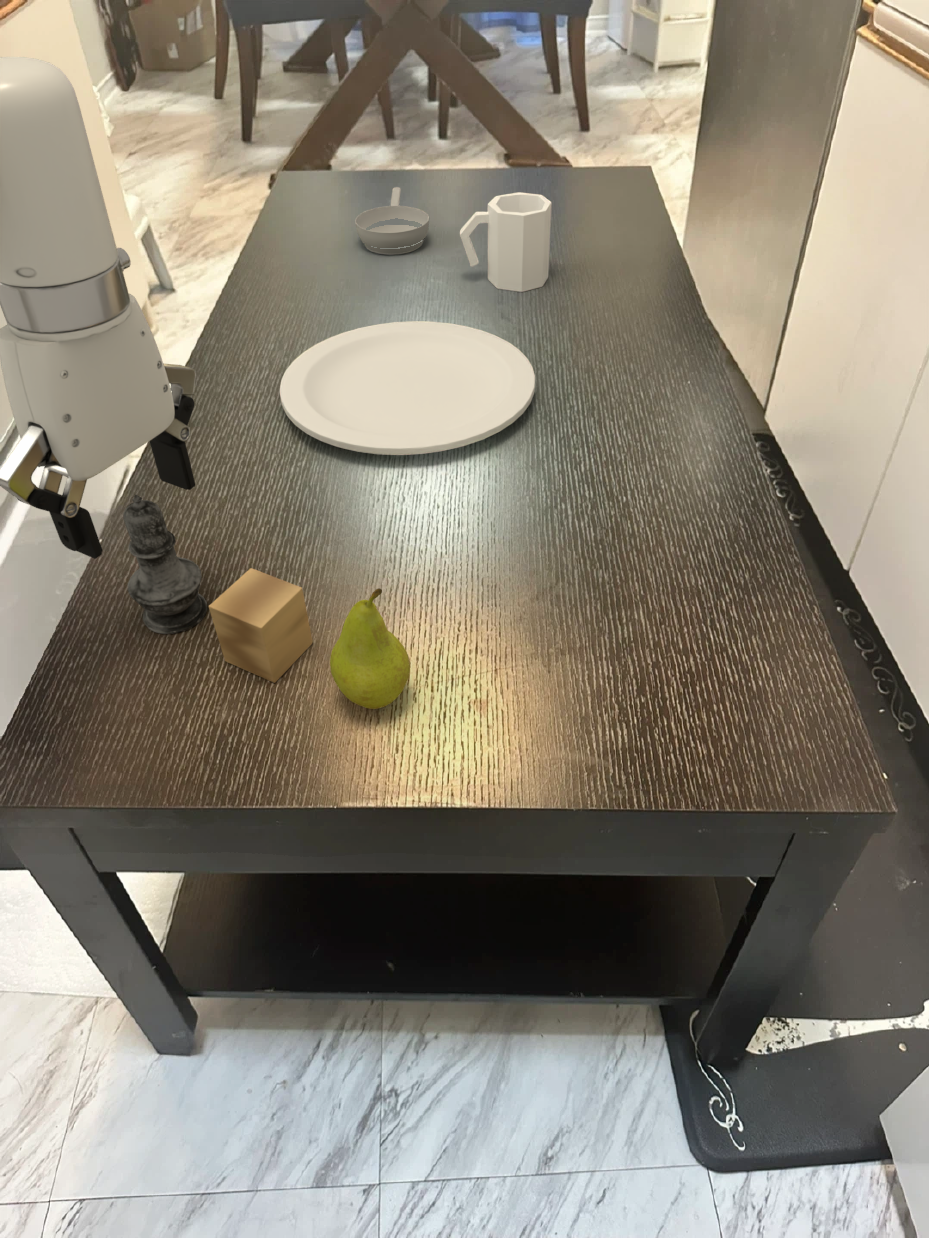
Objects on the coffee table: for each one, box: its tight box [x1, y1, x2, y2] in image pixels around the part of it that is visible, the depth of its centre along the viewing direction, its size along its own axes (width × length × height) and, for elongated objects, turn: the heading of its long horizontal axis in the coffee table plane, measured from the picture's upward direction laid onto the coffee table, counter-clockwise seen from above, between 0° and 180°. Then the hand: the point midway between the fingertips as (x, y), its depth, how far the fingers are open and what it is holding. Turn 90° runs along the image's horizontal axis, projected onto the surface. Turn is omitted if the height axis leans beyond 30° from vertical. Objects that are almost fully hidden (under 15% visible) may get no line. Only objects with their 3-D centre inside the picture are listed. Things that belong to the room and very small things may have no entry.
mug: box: [459, 191, 553, 293], centre depth 118 cm, size 12×9×10 cm
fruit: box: [329, 587, 411, 710], centre depth 63 cm, size 6×6×12 cm
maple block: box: [208, 567, 314, 684], centre depth 69 cm, size 5×5×6 cm
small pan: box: [354, 186, 430, 256], centre depth 133 cm, size 11×18×4 cm, turn 0°
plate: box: [279, 320, 536, 456], centre depth 98 cm, size 28×28×2 cm
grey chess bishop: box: [122, 494, 208, 635], centre depth 70 cm, size 6×6×12 cm
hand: (133, 515), depth 67 cm, fingers open, 9 cm apart
